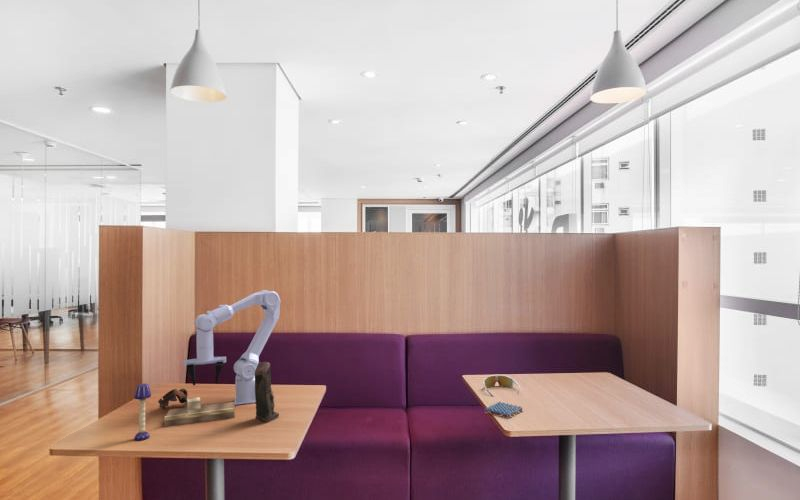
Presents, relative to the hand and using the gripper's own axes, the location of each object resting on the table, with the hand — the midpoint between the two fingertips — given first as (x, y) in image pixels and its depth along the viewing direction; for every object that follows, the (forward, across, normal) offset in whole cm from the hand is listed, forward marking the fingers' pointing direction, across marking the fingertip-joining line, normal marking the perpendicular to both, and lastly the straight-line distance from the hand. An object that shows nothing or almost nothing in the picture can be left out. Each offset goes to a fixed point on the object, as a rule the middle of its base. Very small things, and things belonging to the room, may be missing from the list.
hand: (205, 383), depth 171 cm
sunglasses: (+10, -112, +23) cm, 115 cm away
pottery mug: (+10, +10, -6) cm, 15 cm away
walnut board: (+9, +1, +8) cm, 12 cm away
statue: (+10, -20, +20) cm, 30 cm away
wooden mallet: (+7, +4, +8) cm, 11 cm away
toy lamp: (+10, +17, +22) cm, 29 cm away
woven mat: (+10, -99, +45) cm, 109 cm away
